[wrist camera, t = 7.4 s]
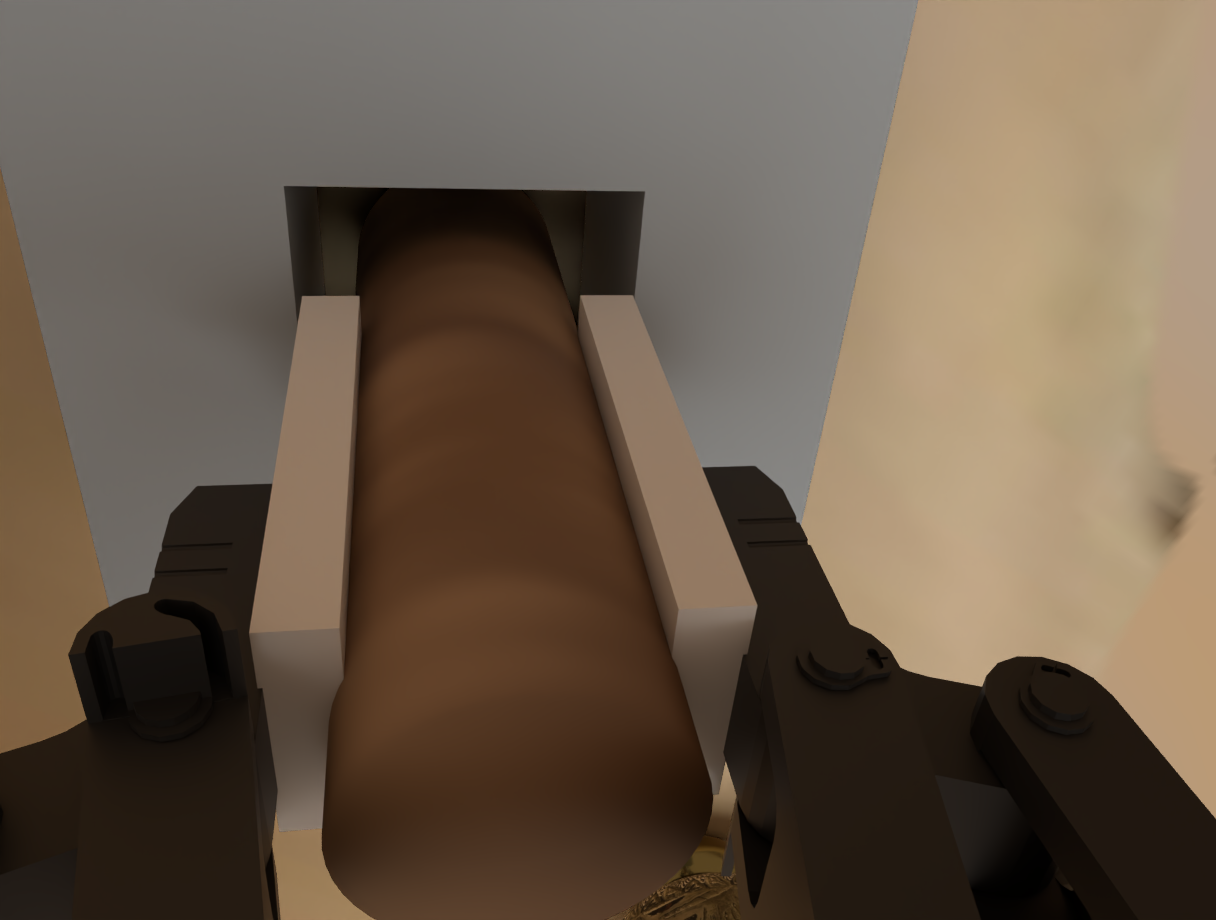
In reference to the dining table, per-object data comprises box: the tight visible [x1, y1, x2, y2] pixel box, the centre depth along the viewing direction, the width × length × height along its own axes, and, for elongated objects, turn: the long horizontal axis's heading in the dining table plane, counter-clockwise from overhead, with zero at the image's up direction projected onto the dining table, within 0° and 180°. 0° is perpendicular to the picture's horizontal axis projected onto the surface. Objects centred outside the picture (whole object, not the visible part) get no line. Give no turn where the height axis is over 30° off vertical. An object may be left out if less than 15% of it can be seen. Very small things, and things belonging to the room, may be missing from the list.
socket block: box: [0, 0, 918, 607], centre depth 18 cm, size 12×12×5 cm
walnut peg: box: [322, 188, 713, 920], centre depth 14 cm, size 3×3×12 cm
